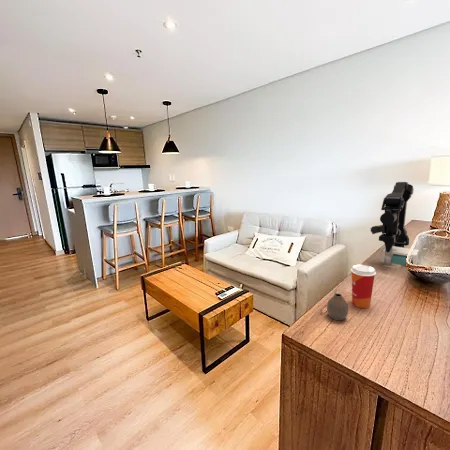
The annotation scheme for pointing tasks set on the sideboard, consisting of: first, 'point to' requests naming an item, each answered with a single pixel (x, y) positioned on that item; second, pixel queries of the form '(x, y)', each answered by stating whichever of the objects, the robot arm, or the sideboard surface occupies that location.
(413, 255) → the tunnel
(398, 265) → the sled
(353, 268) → the coffee cup
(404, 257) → the block
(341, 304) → the vase
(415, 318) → the sideboard surface
